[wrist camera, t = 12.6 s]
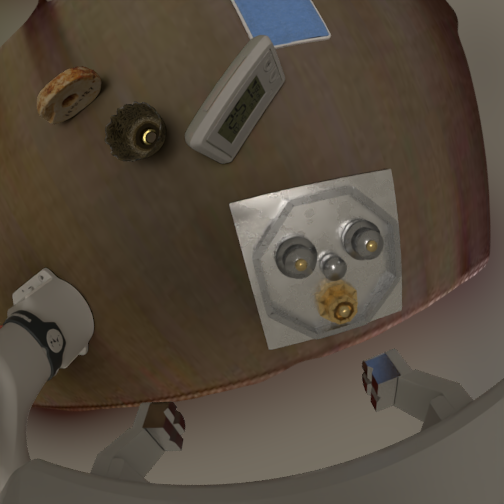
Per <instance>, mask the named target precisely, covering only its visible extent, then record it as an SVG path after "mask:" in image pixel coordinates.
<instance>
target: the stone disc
mask: <svg viewBox="0 0 504 504" xmlns="http://www.w3.org/2000/svg"><path fill="white" fill-rule="evenodd" d="M100 89H101V78H100V77H99V75H98V74H97V73H96V72H95V71H94V70H91V69H89V68H86V67H75V68H70V69H67V70H66V71H64V72H63V73H61V74H59V75H58V76H57V77H56V78H54V79H53V80H52V81H51V82H50V83H48V84H47V85H46V86H45V87H44V89H42V90H41V92H40V93H39V95H38V98H37V110H38V113H39V115H40V117H42V118H44V119H45V120H47V121H48V122H50V123H51V124H58V123H61V122H63V121H65V120H68V119H69V118H71V117H73V116H75V115H76V114H77V113H78V112H79V111H80V110H82V109H84V108H85V107H86V106H87V105H88V104H90V103H91V102H92V101H93V100H94V99H95V98H96V97H97V95H98V94H99V92H100Z"/></svg>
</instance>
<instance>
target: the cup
mask: <svg viewBox="0 0 504 504" xmlns="http://www.w3.org/2000/svg"><path fill="white" fill-rule="evenodd" d="M150 132H154V133H155V134H156V139H155V141H154V142H153V143H149V142H147V140H146V136H147V134H148V133H150ZM105 133H106V136H107V137H106V138H105V142H106V143H107V144H109V145H110V149H112V152H111V154H112V155H113V156H115V157H117V158H118V159H119V160H121V161H132V162H133V161H136V160H140V159H144V158H147V157H150V156H152V155H153V154H155V153H156V152H157V151H158V150H159V149H160V148H161V147H162V145H163V143H164V141H165V138H166V127H165V124H164V122H163V120H162V118H161V117H160V115H159V114H158V113H157V112H156V110H155V109H154V108H153V107H151V106H150V105H149V104H147V103H145V102H142V103H138V102H134V103H133V105H132V104H126V105H124V106H123V108H122V107H121V108H118V109H117V115H112V116H111V122H110V123H109V124H108V125H107V126H106V127H105Z"/></svg>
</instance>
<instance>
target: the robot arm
mask: <svg viewBox="0 0 504 504" xmlns="http://www.w3.org/2000/svg"><path fill="white" fill-rule="evenodd" d="M13 303H14V306H12V307H11V308H10V309H9V310H8V318H7V319H6V320H5V322H4V324H3V325H1V326H0V504H504V379H502V380H501V381H500V382H498V383H497V384H496V385H495V386H493V387H492V388H490V389H489V390H488V391H486V392H485V393H484V394H482V395H481V396H479V397H478V398H477V399H475V400H473V399H472V398H471V397H470V396H469V394H468V393H467V392H466V391H465V389H464V388H463V387H462V386H461V385H460V383H457V382H454V381H450V380H447V379H444V378H441V377H437V376H434V375H431V374H428V373H425V372H422V371H419V370H416V369H415V370H412V369H411V368H410V366H409V365H408V364H407V362H406V361H405V360H404V359H403V357H402V356H401V355H400V353H399V352H398V351H397V350H396V349H392V350H390V351H387V352H385V353H382V354H380V355H377V356H374V357H372V358H369V359H366V360H363V362H362V368H363V370H364V373H363V374H362V381H363V386H364V389H365V391H366V393H367V394H368V395H370V396H371V403H372V405H373V407H374V409H375V411H376V412H377V411H380V410H383V409H385V408H388V407H390V406H393V405H394V406H395V407H397V408H399V409H401V410H402V411H404V412H406V413H408V414H410V415H411V416H413V417H415V418H417V419H419V420H421V421H423V422H424V423H423V426H422V428H421V431H420V432H419V433H417V434H415V435H413V436H411V437H408V438H406V439H404V440H402V441H400V442H398V443H395V444H393V445H390V446H388V447H386V448H383V449H381V450H378V451H375V452H373V453H370V454H368V455H365V456H362V457H359V458H356V459H353V460H350V461H347V462H344V463H340V464H337V465H334V466H330V467H326V468H322V469H319V470H315V471H310V472H306V473H302V474H297V475H292V476H287V477H282V478H276V479H269V480H262V481H254V482H246V483H234V484H219V485H170V484H155V483H150V482H148V481H147V480H146V479H145V478H144V477H145V475H146V474H147V473H148V472H149V471H150V470H151V468H152V467H153V466H154V465H155V463H156V462H157V461H158V460H159V459H160V457H161V456H162V455H163V454H164V451H181V450H182V445H183V438H182V437H181V435H182V434H183V433H184V432H185V420H184V417H183V415H182V414H181V413H180V412H178V411H177V410H176V408H177V406H176V405H175V404H174V402H152V403H142V404H141V405H140V407H139V410H138V412H137V415H136V418H135V421H134V424H133V426H132V428H129V429H128V430H127V431H125V433H123V434H122V435H121V436H119V437H118V438H117V439H116V440H115V441H114V442H112V443H111V444H110V445H109V446H107V447H106V448H105V449H104V450H103V451H101V452H100V453H99V454H98V455H97V457H96V460H95V462H94V465H93V468H92V470H91V473H85V472H81V471H77V470H73V469H70V468H66V467H63V466H59V465H56V464H53V463H50V462H47V461H44V460H41V459H34V460H31V459H30V456H29V453H28V448H27V440H26V425H27V418H28V414H29V411H30V408H31V406H32V404H33V402H34V400H35V398H36V396H37V395H38V393H39V392H40V390H41V388H42V387H43V385H44V384H45V383H46V381H48V380H50V379H51V378H52V377H53V376H55V375H56V373H57V372H58V370H59V368H67V367H68V366H69V364H70V363H71V362H72V361H73V360H74V359H75V358H76V357H77V356H78V355H85V354H86V353H87V352H88V342H89V340H90V338H91V337H92V335H93V331H94V321H93V316H92V313H91V310H90V308H89V306H88V304H87V302H86V301H85V299H84V298H83V297H82V295H81V294H80V293H79V292H78V291H77V290H76V289H75V288H74V287H73V286H72V285H70V284H69V283H67V282H65V281H63V280H61V279H59V278H58V277H56V276H55V275H54V274H53V273H52V272H51V271H50V270H49V269H48V268H44V269H42V270H41V271H40V272H39V273H37V274H36V275H35V276H33V277H32V278H31V279H30V280H29V281H27V282H26V283H25V284H24V285H22V286H21V287H20V288H19V289H18V290H16V291H15V292H14V293H13Z"/></svg>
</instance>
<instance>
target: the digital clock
mask: <svg viewBox="0 0 504 504" xmlns="http://www.w3.org/2000/svg"><path fill="white" fill-rule="evenodd" d="M284 81H285V76H284V73H283V70H282V67H281V64H280V61H279V58H278V55H277V53H276V50H275V47H274V45H273V43H272V42H271V40H270V38H269V37H268V36H266V35H258V36H256V37H254V38H252V39H251V40H250V41H249V42H248V43H247V45H246V46H245V47H244V48H243V49H242V51H241V52H240V53H239V54H238V56H237V57H236V58H235V60H234V61H233V62H232V64H231V65H230V66H229V68H228V69H227V70H226V72H225V73H224V74H223V76H222V77H221V79H220V80H219V81H218V83H217V84H216V86H215V87H214V88H213V90H212V91H211V93H210V94H209V96H208V97H207V99H206V100H205V102H204V103H203V105H202V106H201V108H200V109H199V111H198V112H197V114H196V116H195V117H194V119H193V120H192V122H191V124H190V125H189V127H188V129H187V131H186V133H185V141H186V143H187V144H188V146H190V147H191V148H192V149H194V150H196V151H198V152H200V153H202V154H204V155H206V156H207V157H209V158H211V159H213V160H215V161H217V162H219V163H221V164H224V163H229V162H231V161H232V160H233V159H234V157H235V155H236V154H237V152H238V151H239V149H240V148H241V146H242V145H243V143H244V141H245V140H246V138H247V137H248V135H249V134H250V132H251V131H252V129H253V127H254V126H255V124H256V123H257V121H258V120H259V118H260V117H261V115H262V114H263V112H264V111H265V109H266V108H267V106H268V105H269V103H270V102H271V101H272V99H273V98H274V96H275V95H276V93H277V92H278V90H279V89H280V87H281V86H282V84H283V83H284Z"/></svg>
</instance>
